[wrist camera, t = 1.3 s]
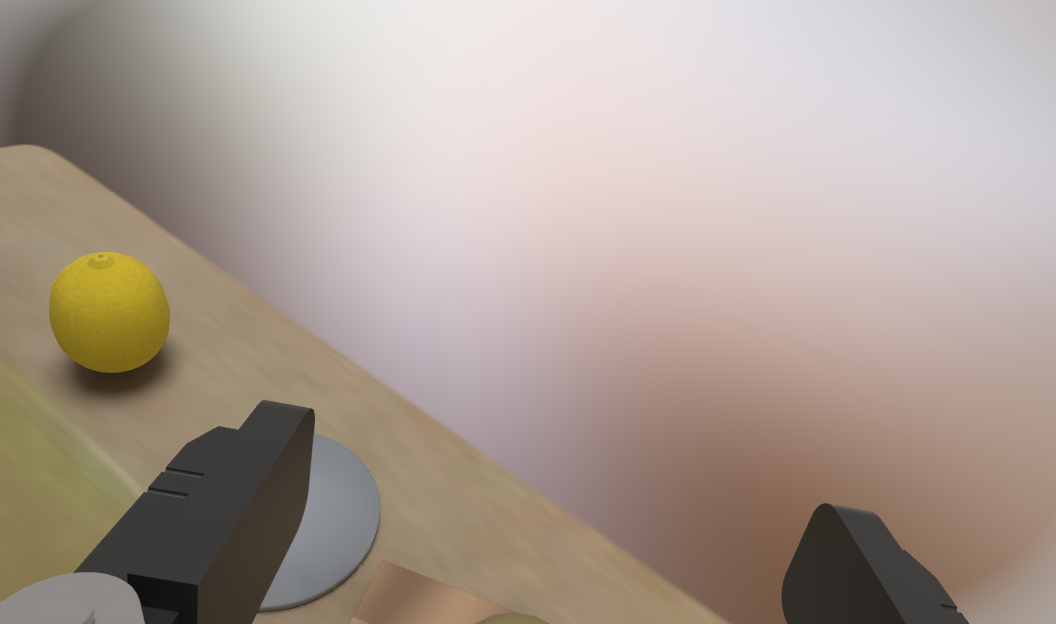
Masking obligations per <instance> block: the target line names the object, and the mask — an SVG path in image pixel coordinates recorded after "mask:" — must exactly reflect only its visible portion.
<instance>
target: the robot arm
mask: <svg viewBox="0 0 1056 624" xmlns="http://www.w3.org/2000/svg"><path fill="white" fill-rule="evenodd" d="M314 425H315V414H314V410H313V409H311V408H306V407H300V406H295V405H289V404H284V403H278V402H273V401H267V400H263V401H261V402H260V403H259V404H258V405H257V407H256V408H255V409H254V411H253V412H252V413H251V414H250V416H249V417H248V418H247V420H246V421H245V422H244V423H243V425H242V426H241V427H240V429H239V430H237V429H231V428H226V427H220V426H218V427H216V428H214V429H212V430H211V431H209V432H207V433H205V434H203V435H201V436H200V437H198V438H196V439H194V440H192V441H191V442H189V443H187V444H186V445H185V446H184V447H183V448H182V450H181V451H180V452H179V453H178V454H177V455H176V456H175V458H174V459H173V460H172V461H171V462H170V463H169V464H168V466H167V467H166V470H165V472H161V474H160V475H159V476H158V477H157V478H156V479H155V480H154V481H153V483H152V484H151V485H150V486H149V488H148V491H147V493H146V492H144V493H143V494H142V495H141V496H140V497H139V499H138V500H137V501H136V502H135V503H134V504H133V505H132V507H131V508H130V509H129V510H128V511H127V512H126V513H125V515H124V516H123V517H122V518H121V519H120V520H119V521H118V523H117V524H116V525H115V526H114V527H113V528H112V529H111V531H110V532H109V533H108V534H107V535H106V536H105V537H104V538H103V540H102V541H101V542H100V543H99V544H98V545H97V546H96V548H95V549H94V550H93V551H92V552H91V553H90V554H89V556H88V557H87V558H86V559H85V560H84V561H83V562H82V564H81V565H80V566H79V567H78V568H77V569H76V570H75V572H74V573H70V574H64V575H60V576H55V577H52V578H48V579H45V580H42V581H39V582H37V583H35V584H32V585H30V586H27V587H25V588H24V589H22V590H20V591H18V592H16V593H14V594H13V595H11V596H10V597H8V598H7V599H5V600H4V601H2V602H1V603H0V624H252V622H253V620H254V618H255V616H256V614H257V612H258V610H259V608H260V606H261V604H262V602H263V600H264V598H265V596H266V594H267V592H268V590H269V588H270V586H271V584H272V582H273V580H274V578H275V576H276V574H277V572H278V570H279V568H280V566H281V564H282V562H283V560H284V558H285V556H286V554H287V552H288V550H289V548H290V546H291V544H292V542H293V540H294V538H295V536H296V534H297V532H298V529H299V527H300V524H301V521H302V518H303V515H304V511H305V507H306V503H307V498H308V492H309V482H310V471H311V459H312V448H313V437H314ZM782 607H783V612H784V616H785V619H786V621H787V624H969V623H968V621H967V620H966V619H965V617H964V616H963V614H962V613H959V612H957V606H956V605H955V603H954V602H953V601H952V599H951V598H950V597H949V595H948V594H947V593H946V591H945V590H944V588H943V587H942V586H941V584H940V583H939V581H938V580H937V579H936V577H934V575H932V574H931V573H930V572H929V571H928V570H927V569H926V568H924V567H923V566H922V565H921V564H920V563H919V562H918V561H916V560H915V559H914V558H913V557H912V556H911V555H910V554H909V553H908V552H906V551H905V550H902V549H901V547H900V546H899V545H898V543H897V542H896V541H895V539H894V537H893V536H892V535H891V533H890V532H889V530H888V529H887V527H886V526H885V525H884V523H883V522H882V520H881V519H880V518H879V517H878V515H877V514H875V513H874V512H871V511H866V510H860V509H855V508H849V507H843V506H839V505H832V504H827V503H824V504H821V505H819V506H818V507H817V508H816V510H815V511H814V513H813V515H812V517H811V519H810V522H809V523H808V526H807V528H806V530H805V532H804V534H803V537H802V539H801V541H800V543H799V546H798V548H797V550H796V552H795V554H794V557H793V559H792V561H791V564H790V566H789V568H788V570H787V572H786V575H785V578H784V581H783V586H782Z"/></svg>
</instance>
